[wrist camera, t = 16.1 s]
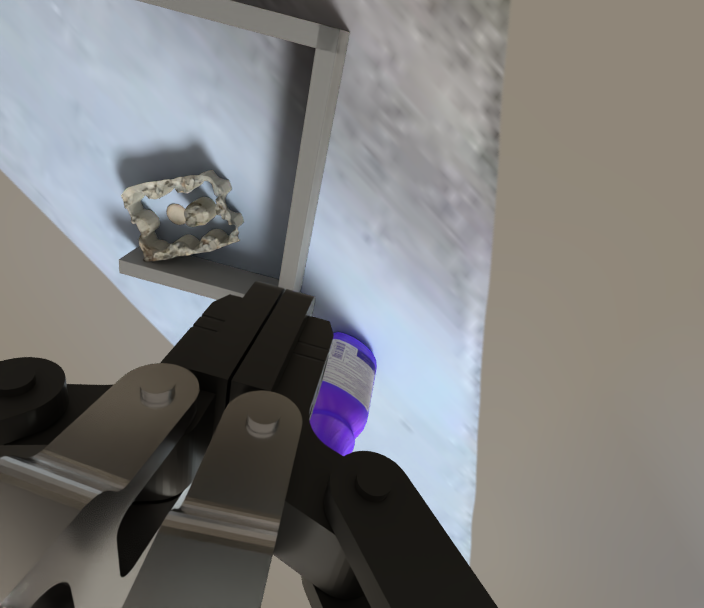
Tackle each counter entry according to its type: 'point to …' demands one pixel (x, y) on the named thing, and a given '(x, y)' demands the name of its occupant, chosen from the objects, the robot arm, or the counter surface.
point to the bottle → (344, 394)
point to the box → (320, 110)
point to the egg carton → (181, 216)
